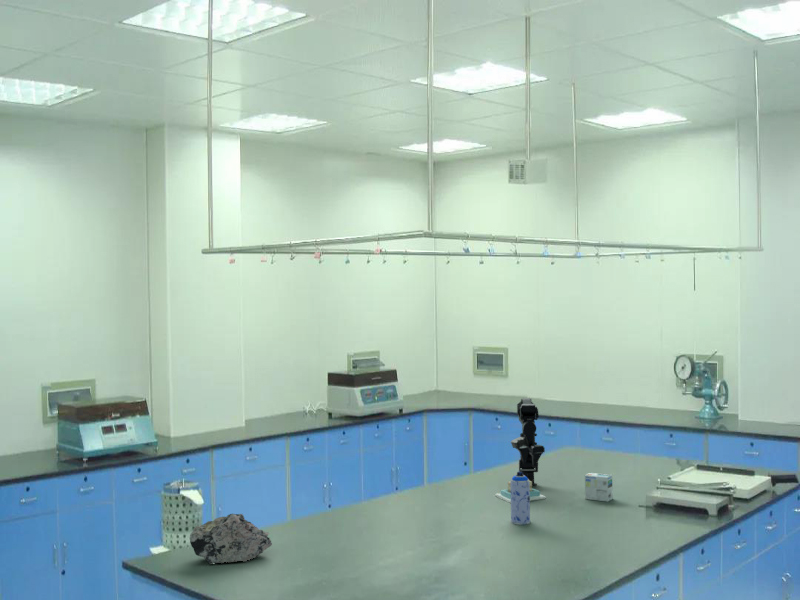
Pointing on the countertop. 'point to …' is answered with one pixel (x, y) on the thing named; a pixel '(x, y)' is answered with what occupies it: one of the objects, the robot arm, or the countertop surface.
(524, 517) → the aerosol can
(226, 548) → the mineral sample
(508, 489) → the key block
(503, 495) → the keyed cradle
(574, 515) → the countertop surface
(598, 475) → the light bulb box
